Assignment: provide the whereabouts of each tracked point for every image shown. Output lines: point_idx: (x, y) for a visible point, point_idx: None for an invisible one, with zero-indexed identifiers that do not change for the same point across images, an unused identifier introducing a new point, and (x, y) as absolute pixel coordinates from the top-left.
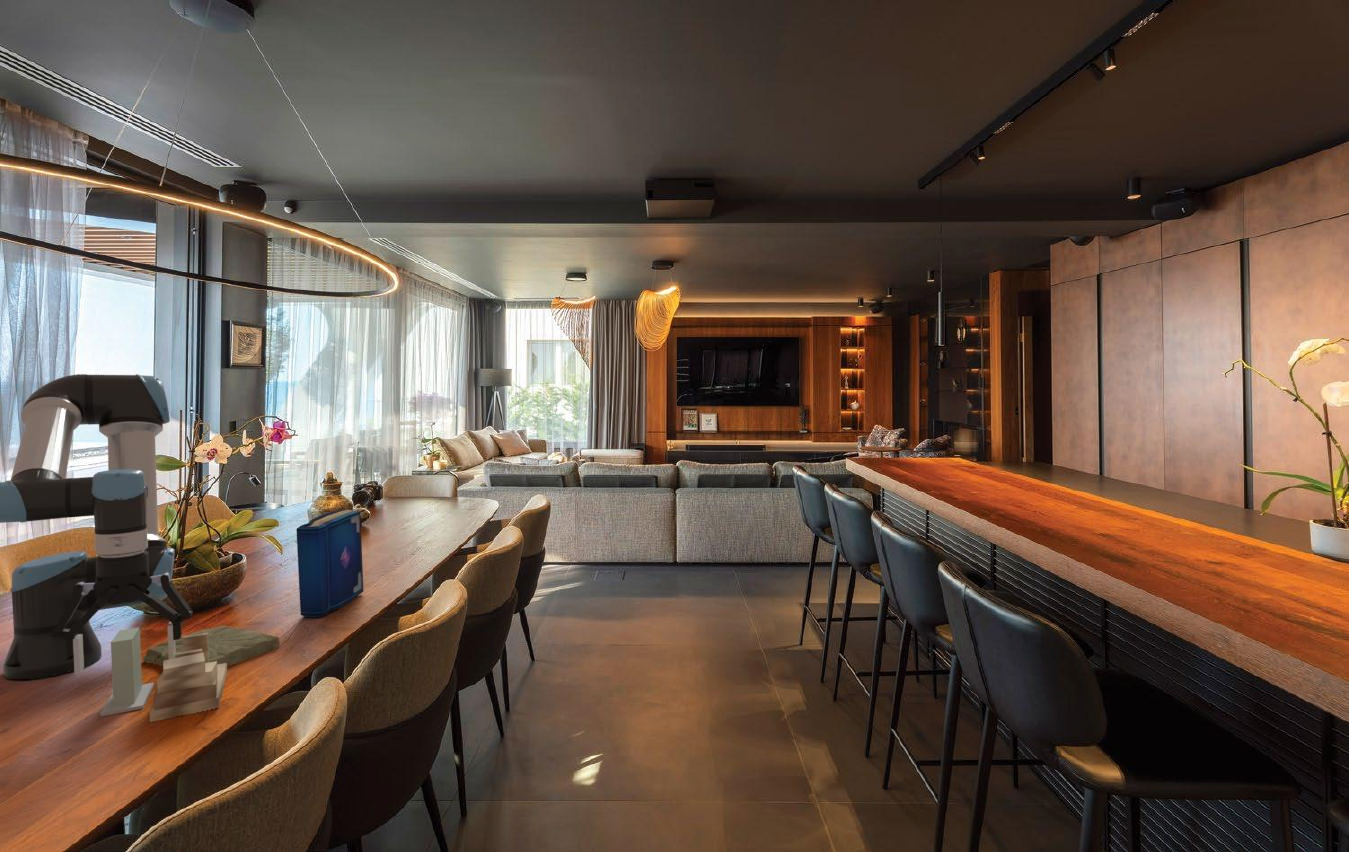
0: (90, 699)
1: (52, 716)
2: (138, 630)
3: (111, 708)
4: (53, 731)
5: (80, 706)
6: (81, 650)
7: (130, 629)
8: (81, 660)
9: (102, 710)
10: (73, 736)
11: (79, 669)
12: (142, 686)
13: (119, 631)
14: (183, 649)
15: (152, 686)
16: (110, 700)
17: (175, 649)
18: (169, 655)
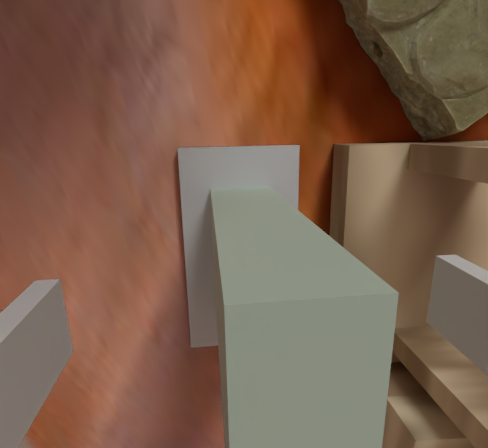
0: (113, 176)
1: (42, 276)
2: (385, 340)
3: (213, 325)
4: (96, 387)
5: (102, 229)
6: (1, 396)
7: (324, 321)
8: (40, 359)
9: (190, 328)
10: (161, 435)
11: (62, 367)
12: (267, 167)
13: (231, 339)
14: (484, 181)
15: (297, 173)
16: (192, 256)
17: (471, 264)
18: (442, 333)
